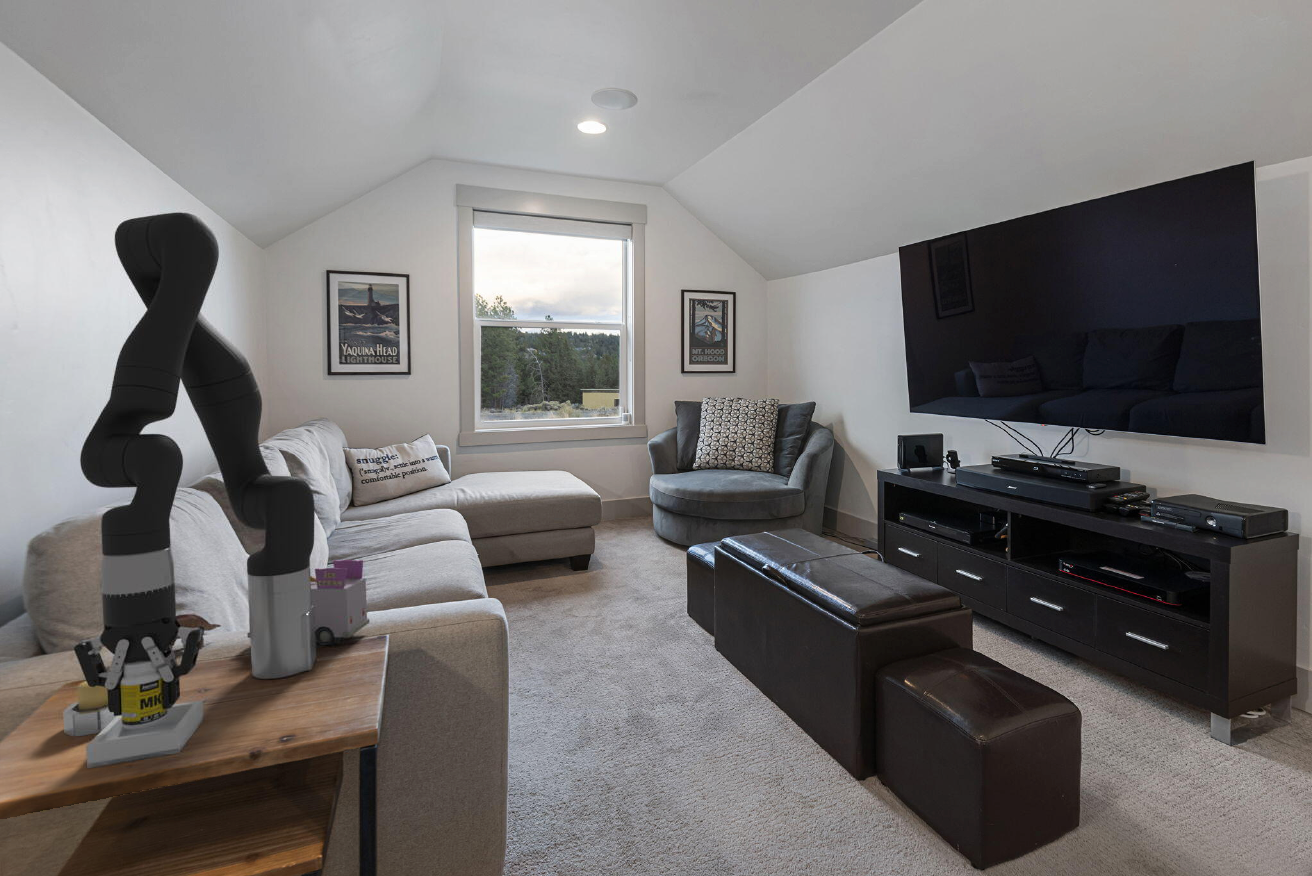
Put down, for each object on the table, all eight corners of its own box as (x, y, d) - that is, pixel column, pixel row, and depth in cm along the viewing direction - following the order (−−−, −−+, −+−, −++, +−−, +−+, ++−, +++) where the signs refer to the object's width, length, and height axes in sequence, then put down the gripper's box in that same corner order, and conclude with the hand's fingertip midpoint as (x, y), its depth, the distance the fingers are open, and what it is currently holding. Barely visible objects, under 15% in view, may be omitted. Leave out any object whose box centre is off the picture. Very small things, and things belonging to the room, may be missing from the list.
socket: (138, 708, 95) (136, 689, 95) (117, 730, 89) (116, 709, 88) (81, 717, 93) (80, 697, 92) (55, 739, 86) (54, 718, 86)
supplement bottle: (141, 731, 82) (138, 668, 82) (112, 728, 83) (109, 665, 83) (176, 714, 87) (174, 654, 86) (149, 711, 88) (146, 651, 87)
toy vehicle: (276, 631, 128) (273, 558, 127) (371, 631, 127) (368, 557, 126) (245, 649, 119) (241, 569, 118) (347, 648, 118) (344, 569, 117)
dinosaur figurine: (129, 664, 112) (126, 612, 112) (131, 654, 117) (128, 604, 117) (222, 645, 121) (220, 597, 120) (221, 637, 125) (218, 590, 125)
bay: (203, 719, 91) (202, 700, 91) (179, 752, 82) (178, 731, 82) (121, 731, 88) (120, 712, 88) (87, 768, 79) (86, 746, 79)
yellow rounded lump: (121, 694, 93) (120, 674, 93) (108, 706, 89) (107, 685, 89) (87, 699, 92) (86, 679, 91) (72, 711, 88) (71, 690, 88)
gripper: (211, 572, 90) (216, 690, 91) (86, 582, 85) (93, 707, 86) (193, 585, 83) (198, 713, 84) (55, 597, 78) (62, 733, 79)
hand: (145, 709), depth 85 cm, fingers closed on supplement bottle, 4 cm apart
